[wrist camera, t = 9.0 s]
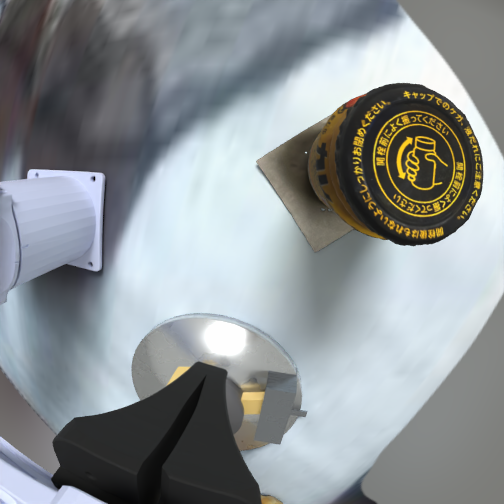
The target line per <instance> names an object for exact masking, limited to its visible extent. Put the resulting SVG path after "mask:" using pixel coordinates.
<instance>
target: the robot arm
mask: <svg viewBox="0 0 504 504" xmlns="http://www.w3.org/2000/svg"><path fill="white" fill-rule="evenodd" d="M38 175H39V176H38ZM94 176H95V182H94V180H93V178H94ZM104 189H105V176H104V174H103V173H96V172H80V171H61V170H36V169H32V170H29V172H28V176H27V179H22V180H13V181H4V182H0V305H1V304H3V303H5V302H7V294H8V291H9V290H11V289H13V288H15V287H17V286H19V285H21V284H23V283H25V282H27V281H29V280H32V279H34V278H36V277H38V276H40V275H42V274H44V273H47V272H49V271H51V270H53V269H55V268H58V267H60V266H62V265H64V264H69V265H73V266H77V267H80V268H84V269H88V270H92V271H99V270H101V268H102V226H103V204H104ZM91 262H92V264H93V266H92V265H91ZM227 374H228V372H227V370H226V369H223V368H219V367H216V366H213V365H209V364H206V363H203V362H199V361H198V362H195V363H194V364H193V365H192V366H191V367H190V368H189V369H188V370H187V371H186V372H184V373H183V374H182V375H181V376H180V377H178V378H177V379H176V380H174V381H173V382H171V383H170V384H169V385H167V386H166V387H164V388H162V389H161V390H159V391H158V392H156V393H154V394H153V395H151V396H149V397H147V398H145V399H143V400H141V401H139V402H137V403H134V404H132V405H129V406H127V407H124V408H121V409H118V410H114V411H111V412H107V413H103V414H98V415H92V416H85V417H76V418H74V419H73V420H71V421H70V422H69V423H68V424H67V425H66V426H65V427H64V428H63V429H62V430H61V431H60V432H59V434H58V435H57V436H56V437H55V438H54V440H53V447H54V451H55V453H56V456H57V458H58V461H59V463H60V467H59V469H58V470H57V471H56V473H55V474H54V475H52V474H51V473H49V472H48V471H46V470H45V469H43V468H42V467H40V466H39V465H37V464H36V463H35V462H33V461H32V460H30V459H29V458H28V457H26V456H25V455H24V454H22V453H21V452H20V451H18V450H17V449H15V448H14V447H13V446H12V445H10V444H9V443H8V442H7V441H6V440H4V439H3V438H2V437H1V436H0V504H262V501H261V494H260V489H259V485H258V483H257V482H256V480H255V479H254V477H253V476H252V474H251V472H250V471H249V469H248V467H247V465H246V463H245V462H244V460H243V457H242V455H241V453H240V451H239V448H238V446H237V444H236V441H235V438H234V435H233V432H232V428H231V424H230V420H229V415H228V409H227V401H226V378H227Z"/></svg>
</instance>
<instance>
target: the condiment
mask: <svg viewBox="0 0 504 504" xmlns="http://www.w3.org/2000/svg"><path fill="white" fill-rule="evenodd" d="M305 152H307V154H306V153H305ZM256 162H257V164H258V165H259V167H260V168H261V170H262V171H263V172H264V174H265V175H266V177H267V178H268V180H269V181H270V183H271V184H272V186H273V187H274V189H275V190H276V192H277V194H278V195H279V196H280V198H281V199H282V201H283V203H284V204H285V206H286V207H287V209H288V210H289V212H290V213H291V214H292V217H293V218H294V220H295V221H296V223H297V224H298V226H299V228H300V229H301V231H302V232H303V234H304V235H305V237H306V239H307V240H308V242H309V244H310V245H311V247H312V248H313V250H314V252H317V251H319V250H320V249H322V248H324V247H326V246H327V245H329V244H330V243H332V242H334V241H335V240H337V239H339V238H341V237H342V236H343V235H345V234H346V233H348V232H350V231H352V230H353V229H355V230H357V231H359V232H361V233H363V234H366V235H368V236H371V237H375V238H380V239H382V240H390V241H392V242H394V243H395V244H399V245H403V246H405V245H410V246H416V245H423V244H427V245H428V244H433V243H436V242H439V241H441V240H443V239H445V238H446V237H448V236H449V235H451V234H452V233H454V232H456V230H457V229H458V228H460V227H461V226H462V225H463V224H464V223H465V222H466V221H467V220H468V219H469V217H470V215H471V213H472V211H473V209H474V207H475V205H476V203H477V201H478V200H479V198H480V195H481V191H482V184H483V161H482V154H481V149H480V146H479V143H478V141H477V138H476V137H475V135H474V132H473V130H472V128H471V126H470V124H469V121H468V120H467V118H466V116H465V114H463V113H462V112H461V111H460V110H459V109H458V108H457V107H456V106H455V105H454V104H453V103H452V102H451V101H450V100H449V99H447V98H446V97H444V96H442V95H441V94H439V93H437V92H435V91H433V90H430V89H428V88H426V87H425V86H423V85H420V84H410V83H396V84H388V85H384V86H382V87H379V88H376V89H373V90H371V91H369V92H368V93H367V94H364V95H362V96H359V97H356V98H353V99H351V100H350V101H348V102H347V103H345V104H343V105H342V106H341V107H339V108H338V109H337V110H336V111H335V112H334V113H333V114H331V115H330V116H328V117H326V118H325V119H323V120H321V121H320V122H318V123H316V124H315V125H313V126H311V127H310V128H308V129H306V130H305V131H303V132H301V133H299V134H298V135H297V136H295V137H293V138H292V139H290V140H288V141H287V142H285V143H284V144H282V145H280V146H279V147H277V148H276V149H274V150H273V151H271V152H269V153H268V154H266V155H265V156H263V157H262V158H260V159H259V160H257V161H256ZM321 209H325V211H322V210H321ZM328 209H330V210H331V211H328Z"/></svg>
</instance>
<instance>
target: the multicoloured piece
mask: <svg viewBox="0 0 504 504" xmlns="http://www.w3.org/2000/svg"><path fill="white" fill-rule="evenodd" d="M189 368H190V367H178V368H177V369H176V371H175V372H174V374H173V376H172V377H171V379H170V381H169V382H168V384H167V385H169V384H170V383H171V382H173V381H174V380H176V379H177V378H178V377H180V376H181V375H182V374H183V373H184V372H186V371H187V370H188V369H189ZM264 394H265V392H242V390H241V389H240V388H239V387H238V386H237V385H236V384H235V383H234V382H233V381H231V380H230V379H228V378H226V401H227V409H228V415H229V420H230V424H231V428H232V432H233V435H234V434H235V433H236V432H237V431H238V430H239V429H240V427H241V425H242V421H243V417H244V414H260V411H261V407H262V403H263V398H264Z"/></svg>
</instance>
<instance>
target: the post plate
mask: <svg viewBox="0 0 504 504" xmlns="http://www.w3.org/2000/svg"><path fill="white" fill-rule="evenodd" d="M198 361H199V362H203V363H206V364H209V365H213V366H216V367H219V368H223V369H226V370H227V372H228V374H227V378H228V379H230V380H231V381H233V382H234V383H235V384H236V385H237V386H238V387H239V388H240V389H241V390H242V392H265V394H264V398H263V403H262V407H261V411H260V414H244V417H243V421H242V425H241V427H240V429H239V430H238V431H237V432H236V433H235V434H234V438H235V441H236V444H237V446H238V448H239V451H240V450H249V449H254V448H258V447H261V446H264V445H267V444H269V443H274V444H280V443H281V440H282V437H283V435H284V434H285V433H286V432H287V431H288V430H289V429H290V428H291V427H292V425H293V424H294V422H295V421H296V419H297V417H298V416H301V417H306V414H307V411H303V410H300V408H301V401H302V386H301V379H300V376H299V373H298V370H297V368H296V366H295V364H294V362H293V361H292V359H291V358H290V356H289V355H288V353H287V352H286V351H285V350H284V349H283V348H282V347H281V346H280V345H279V344H278V343H277V342H276V341H275V340H274V339H272V338H271V337H270V336H269V335H267V334H266V333H264V332H263V331H261V330H259V329H258V328H256V327H254V326H252V325H250V324H248V323H245V322H243V321H240V320H237V319H234V318H231V317H227V316H223V315H216V314H208V313H194V314H185V315H181V316H176V317H173V318H171V319H168V320H165V321H164V322H162V323H160V324H158V325H157V326H156V327H155V328H153V329H152V330H151V331H150V332H149V333H148V334H147V335H146V336H145V337H144V339H143V340H142V341H141V342H140V344H139V345H138V347H137V349H136V351H135V354H134V356H133V361H132V378H133V383H134V387H135V390H136V392H137V394H138V397H139V399H140V400H143V399H145V398H147V397H149V396H151V395H153V394H154V393H156V392H158V391H159V390H161V389H162V388H164V387H166V386H167V384H168V382H169V381H170V379H171V377H172V376H173V374H174V372H175V371H176V369H177V368H178V367H191V366H192V365H193V364H194V363H195V362H198Z"/></svg>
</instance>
